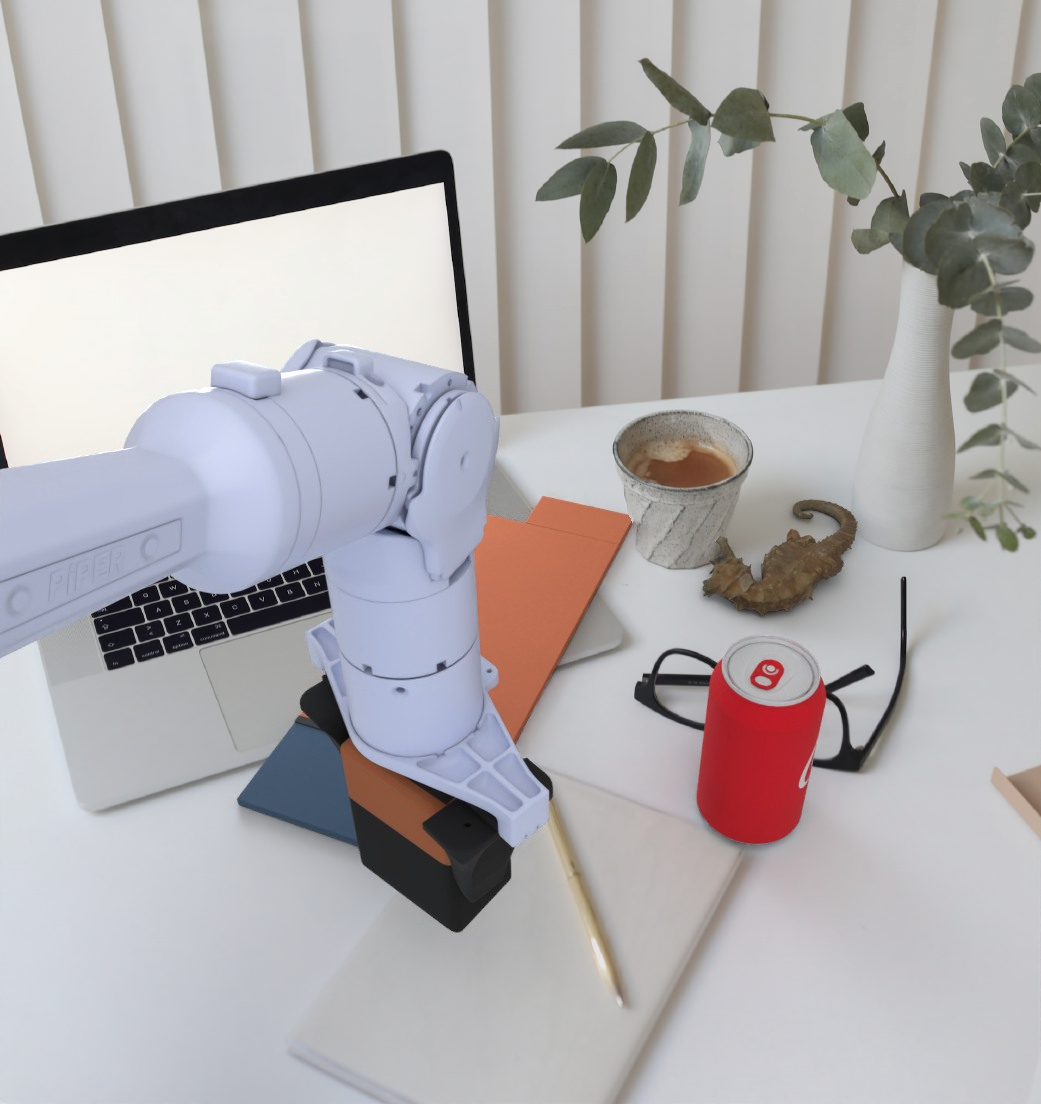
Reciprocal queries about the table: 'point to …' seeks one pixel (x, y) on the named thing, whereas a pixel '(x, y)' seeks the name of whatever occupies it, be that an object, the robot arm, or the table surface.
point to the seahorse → (784, 565)
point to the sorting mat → (505, 641)
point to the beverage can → (760, 738)
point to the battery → (406, 839)
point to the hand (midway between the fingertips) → (432, 836)
